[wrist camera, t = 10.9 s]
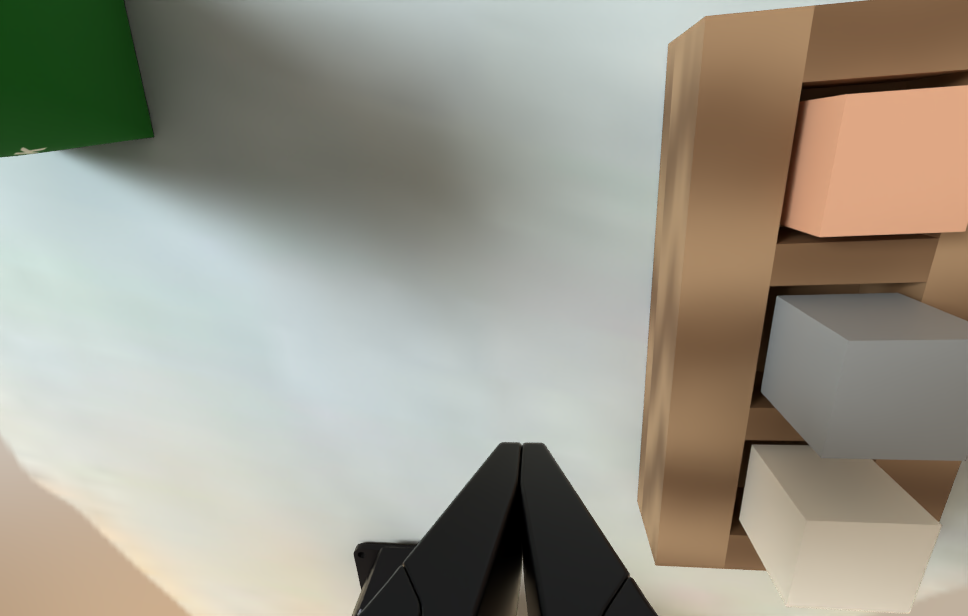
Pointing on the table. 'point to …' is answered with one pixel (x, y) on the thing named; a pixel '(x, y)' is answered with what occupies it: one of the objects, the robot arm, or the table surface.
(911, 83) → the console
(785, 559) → the ivory key
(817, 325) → the grey cube
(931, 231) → the orange cube
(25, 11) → the milk carton
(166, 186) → the table surface
